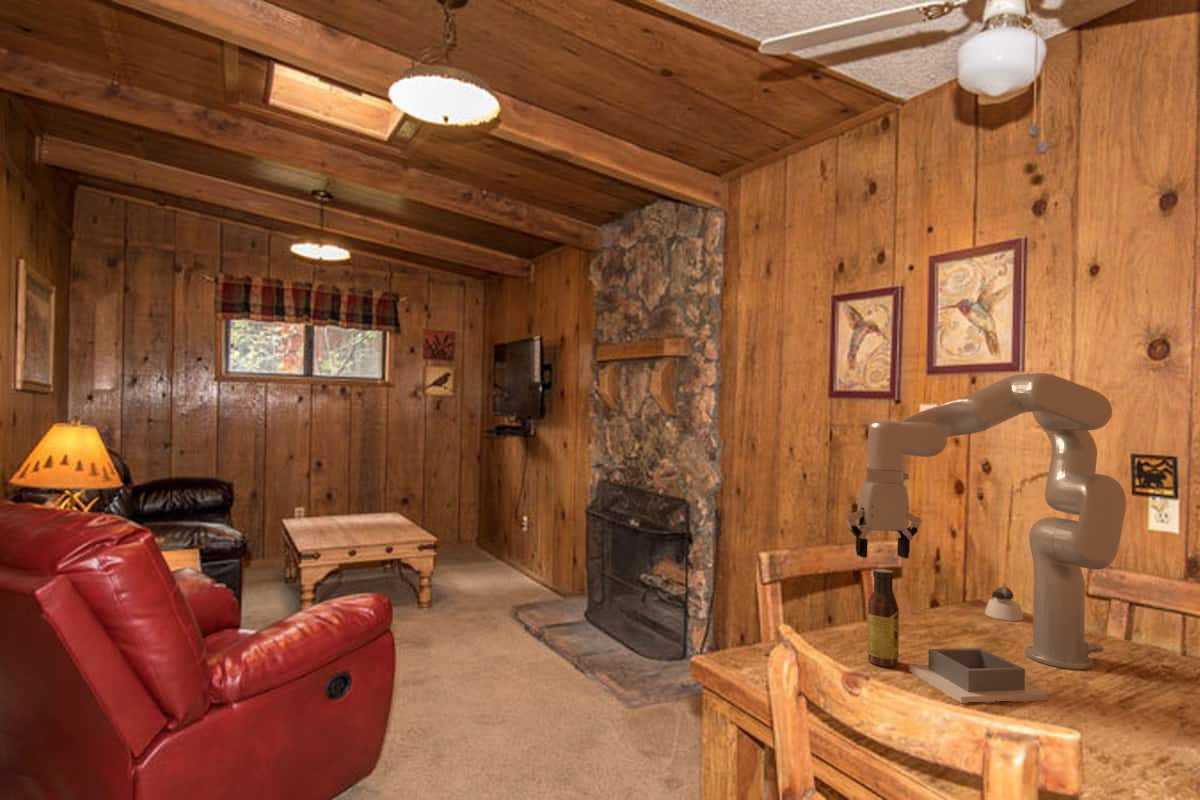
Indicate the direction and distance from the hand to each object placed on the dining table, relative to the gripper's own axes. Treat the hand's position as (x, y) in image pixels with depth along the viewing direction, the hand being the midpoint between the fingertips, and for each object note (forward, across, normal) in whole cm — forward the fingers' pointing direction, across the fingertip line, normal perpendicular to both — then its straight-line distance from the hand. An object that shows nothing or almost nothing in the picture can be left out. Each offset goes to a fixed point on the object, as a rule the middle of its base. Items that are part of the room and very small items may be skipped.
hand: (882, 556), depth 146 cm
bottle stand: (+23, -13, +13) cm, 29 cm away
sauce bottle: (+23, -1, 0) cm, 23 cm away
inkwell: (+22, -54, -28) cm, 64 cm away
